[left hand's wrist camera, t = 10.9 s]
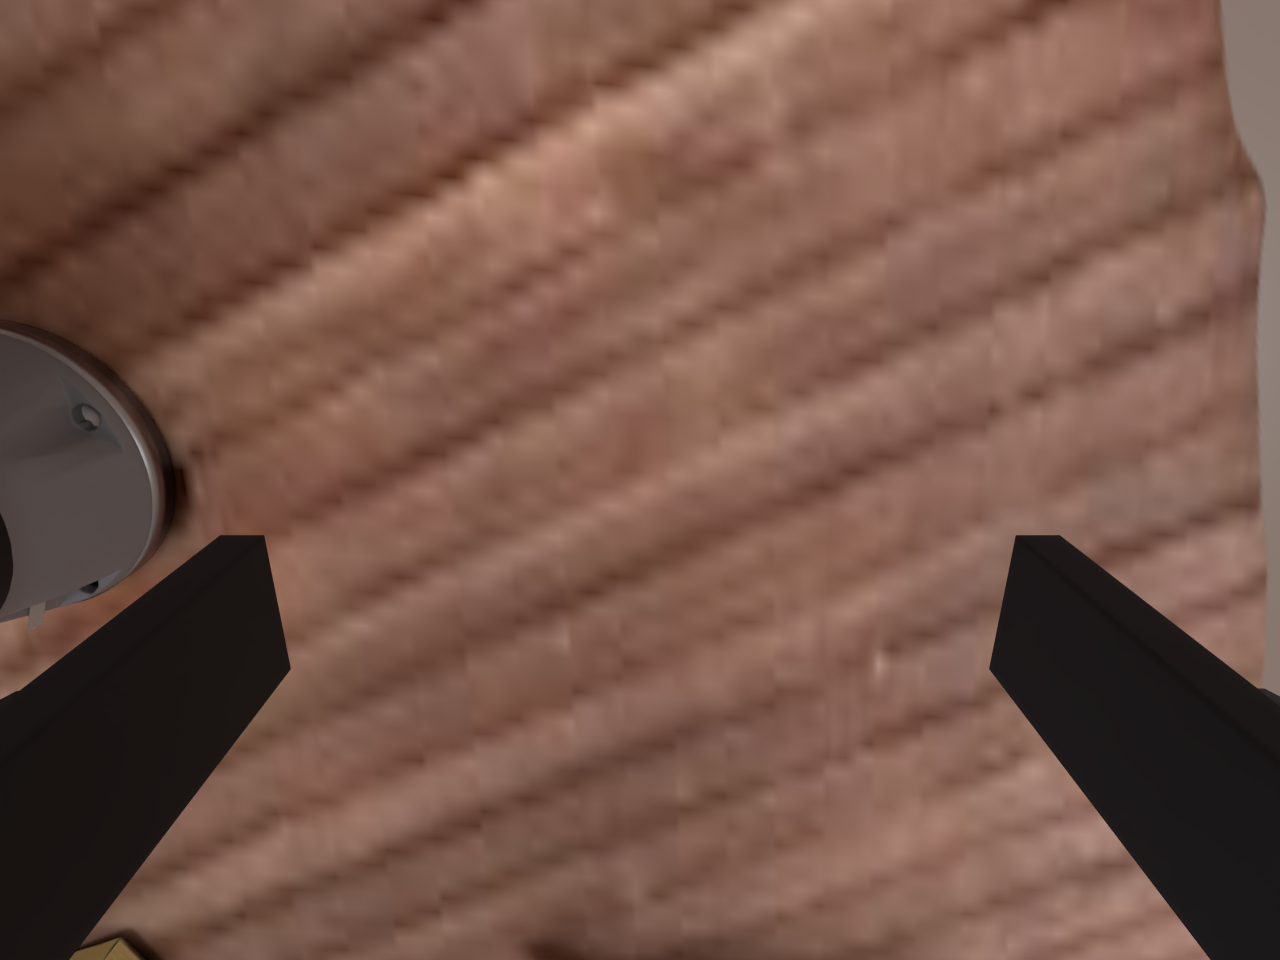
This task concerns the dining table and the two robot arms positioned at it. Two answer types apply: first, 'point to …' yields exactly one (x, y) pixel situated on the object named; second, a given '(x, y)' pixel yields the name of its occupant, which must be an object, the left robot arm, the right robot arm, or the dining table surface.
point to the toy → (109, 951)
